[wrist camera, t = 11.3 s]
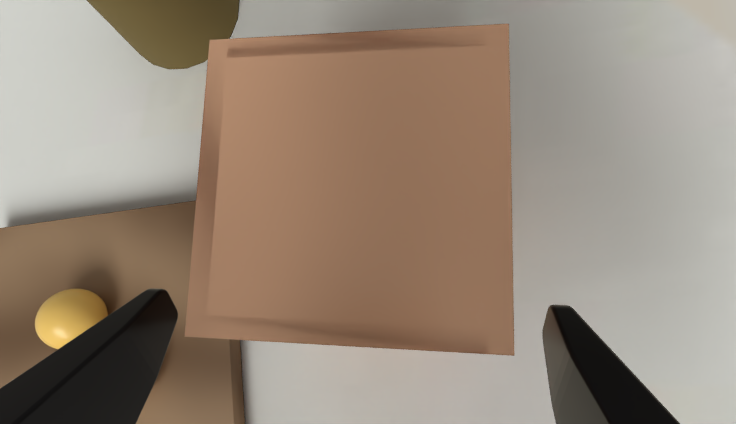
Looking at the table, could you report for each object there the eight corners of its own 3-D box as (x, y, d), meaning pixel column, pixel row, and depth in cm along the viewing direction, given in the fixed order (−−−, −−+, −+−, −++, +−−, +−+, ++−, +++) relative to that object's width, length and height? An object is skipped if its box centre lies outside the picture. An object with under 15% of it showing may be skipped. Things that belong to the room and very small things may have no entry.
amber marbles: (176, 388, 18) (135, 406, 15) (65, 431, 18) (8, 456, 16) (142, 267, 19) (99, 266, 16) (37, 310, 19) (-20, 316, 17)
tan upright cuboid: (471, 311, 17) (514, 355, 8) (302, 304, 18) (184, 336, 10) (470, 142, 18) (508, 23, 9) (310, 145, 19) (209, 39, 10)
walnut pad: (248, 479, 18) (237, 491, 17) (0, 491, 19) (-24, 503, 18) (231, 200, 19) (220, 197, 19) (5, 232, 21) (-15, 230, 20)
